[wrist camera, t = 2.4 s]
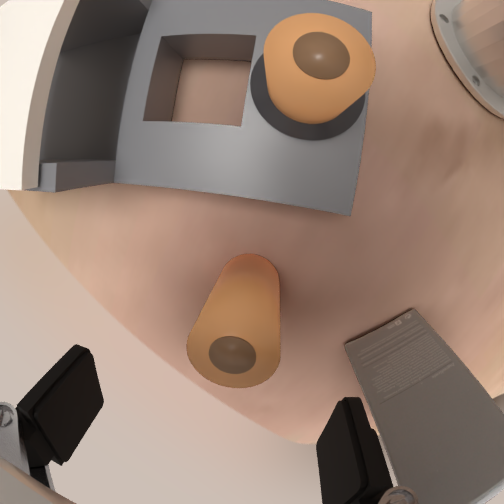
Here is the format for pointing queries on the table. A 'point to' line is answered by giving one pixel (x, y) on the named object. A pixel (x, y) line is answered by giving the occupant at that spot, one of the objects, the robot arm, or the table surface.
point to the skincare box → (430, 413)
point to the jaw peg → (239, 325)
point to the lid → (27, 82)
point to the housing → (203, 134)
